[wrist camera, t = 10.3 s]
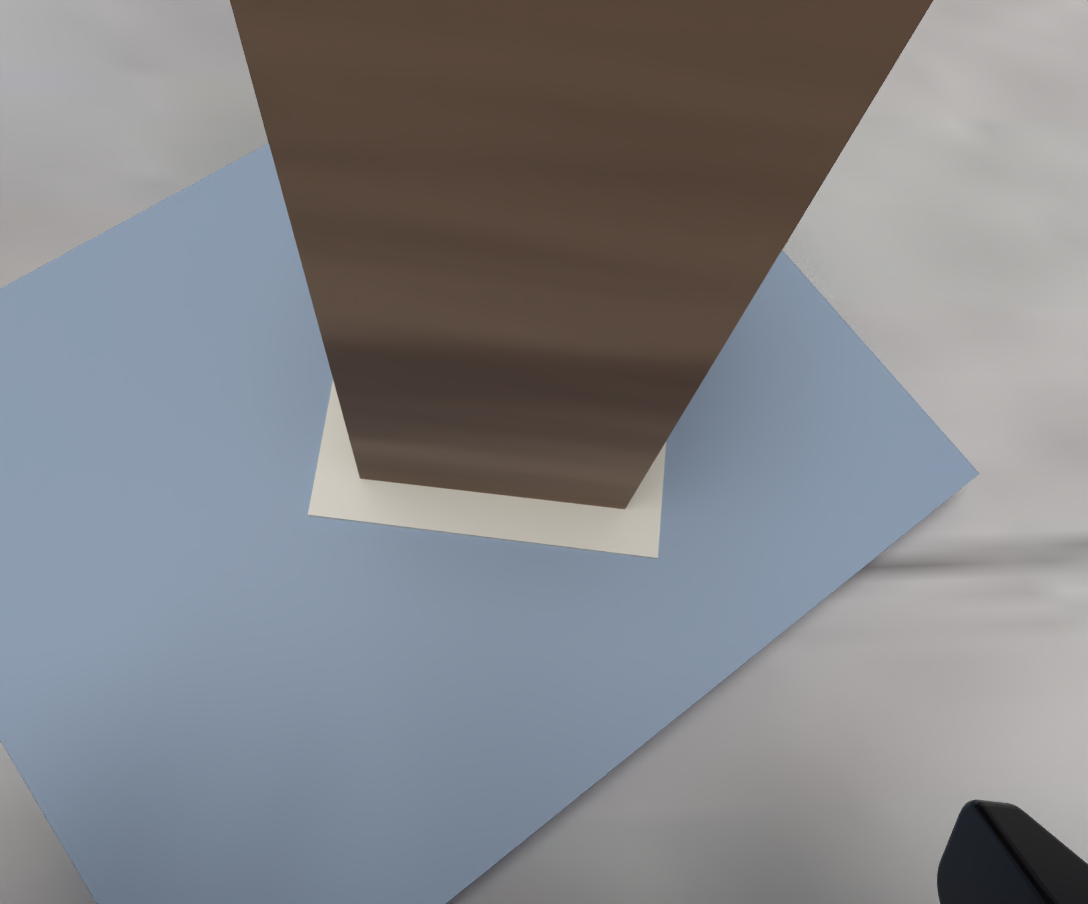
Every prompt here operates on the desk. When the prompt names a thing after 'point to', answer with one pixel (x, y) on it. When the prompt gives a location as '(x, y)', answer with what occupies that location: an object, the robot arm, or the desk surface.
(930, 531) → the desk surface
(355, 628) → the board
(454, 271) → the block
